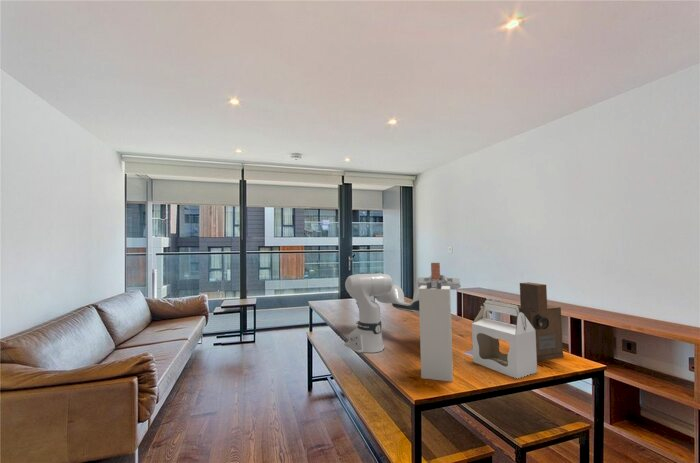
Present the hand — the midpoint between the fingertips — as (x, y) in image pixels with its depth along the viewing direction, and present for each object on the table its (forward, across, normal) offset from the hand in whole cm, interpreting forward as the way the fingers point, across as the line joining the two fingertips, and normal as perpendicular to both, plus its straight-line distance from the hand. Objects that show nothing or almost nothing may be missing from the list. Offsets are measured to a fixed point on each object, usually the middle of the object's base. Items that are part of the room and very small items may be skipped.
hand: (437, 276), depth 152 cm
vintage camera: (-32, -44, -27) cm, 60 cm away
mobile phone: (-31, -18, -27) cm, 45 cm away
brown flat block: (+8, 0, -7) cm, 11 cm away
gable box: (-16, -27, -36) cm, 47 cm away
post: (-1, 0, -44) cm, 44 cm away
